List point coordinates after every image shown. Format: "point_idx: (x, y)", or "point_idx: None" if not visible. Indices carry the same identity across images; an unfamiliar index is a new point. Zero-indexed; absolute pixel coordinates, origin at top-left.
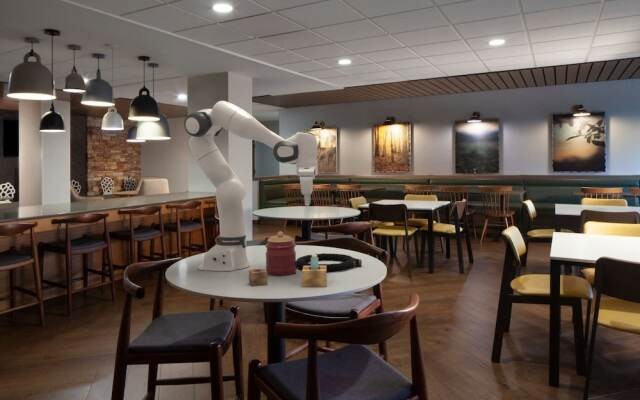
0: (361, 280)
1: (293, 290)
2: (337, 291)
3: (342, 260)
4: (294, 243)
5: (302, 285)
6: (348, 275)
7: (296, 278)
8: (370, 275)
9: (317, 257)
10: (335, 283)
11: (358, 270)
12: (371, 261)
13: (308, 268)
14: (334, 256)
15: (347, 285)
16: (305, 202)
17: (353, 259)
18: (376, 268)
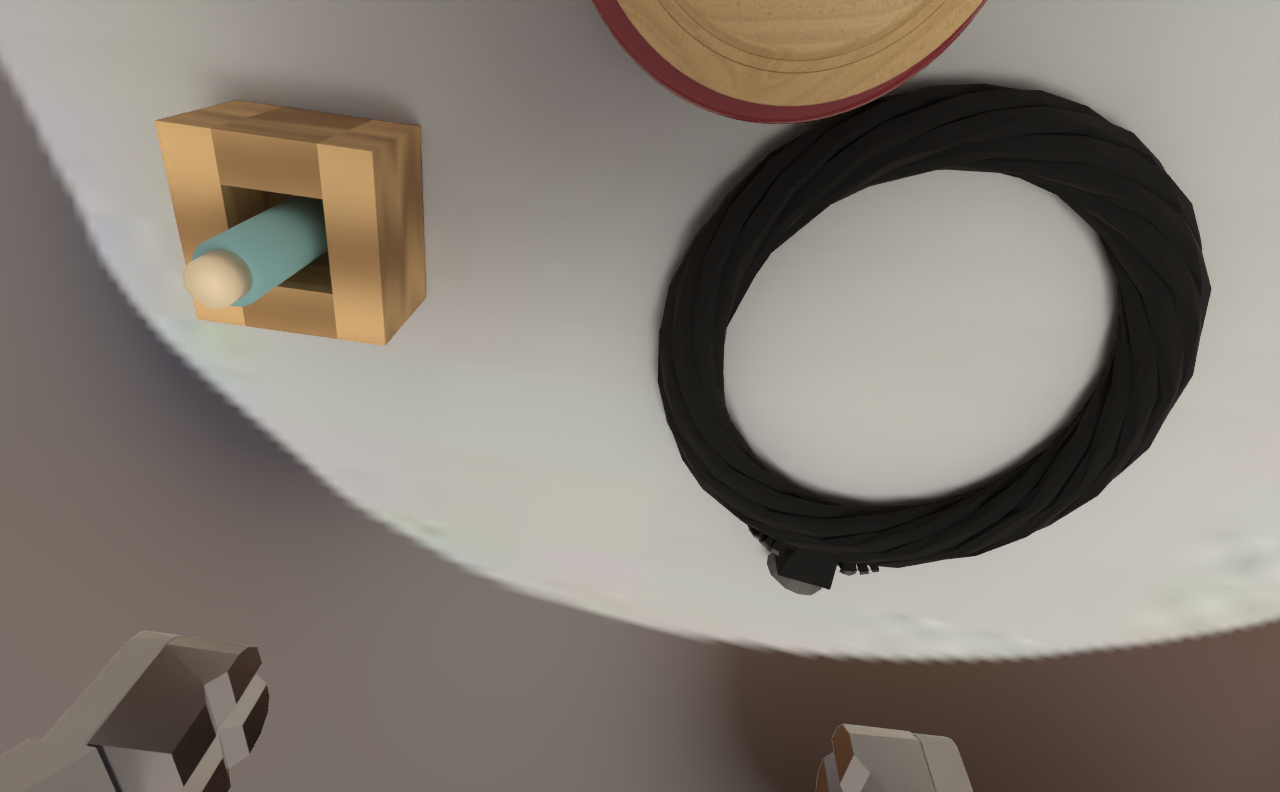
0: (426, 490)
1: (122, 16)
2: (159, 323)
3: (982, 490)
4: (784, 107)
5: (231, 102)
6: (558, 448)
7: (501, 66)
8: (544, 554)
9: (247, 302)
10: (349, 341)
11: (685, 524)
12: (920, 635)
13: (260, 187)
14: (1062, 460)
15: (305, 400)
16: (79, 715)
17: (831, 555)
18: (715, 616)
